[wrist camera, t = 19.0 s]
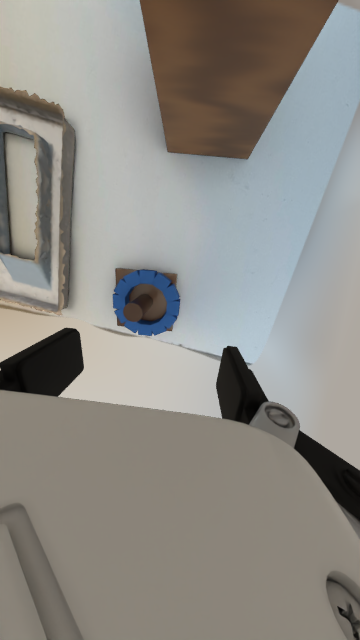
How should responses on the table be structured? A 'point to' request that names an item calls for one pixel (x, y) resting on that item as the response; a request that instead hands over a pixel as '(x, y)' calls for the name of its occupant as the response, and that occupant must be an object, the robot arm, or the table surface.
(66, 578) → the robot arm
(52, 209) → the picture frame
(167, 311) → the ring
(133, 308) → the post
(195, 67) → the stand
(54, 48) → the table surface
